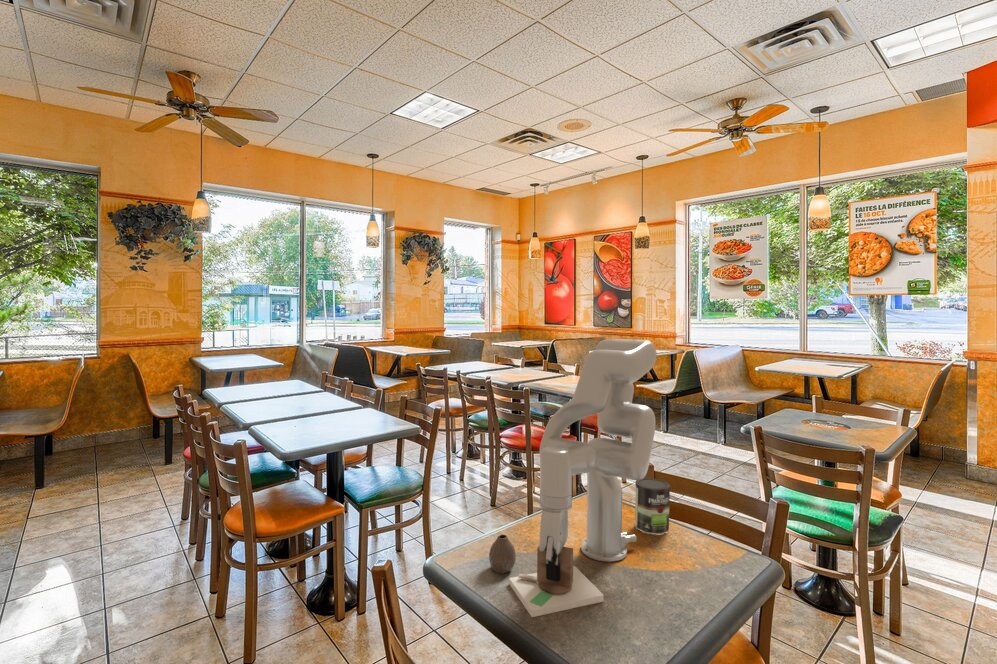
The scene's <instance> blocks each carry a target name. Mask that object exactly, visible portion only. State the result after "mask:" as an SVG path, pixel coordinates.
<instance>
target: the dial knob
mask: <svg viewBox="0 0 997 664" xmlns="http://www.w3.org/2000/svg"><path fill="white" fill-rule="evenodd" d="M536 550H537V554H536V557H537V558H536V559H537V561H536V562H537V563H536V566H537V567H536V568H537V569H536V573H537V577H534V576H529V575H528V574H524V573H519V574H518V575H517V576H518V578H521V579H526V580H530V581H535V582H538V586H539V588H540V589H541V590H543V591H545V592H547V593H550V594H564V593H567V592H568V591H570V590H571V588H572V583H573V566H574V548H572V547H567V546H564V547H563V549H562V551H561V552H560V553H559V564H560V581H559V582H558V581H553V580H548V579H546V553H547V546H546V548H545V550H544V551H542V552H541V551H540V550H539V545H538V546H537V548H536ZM553 550H555V549H553ZM553 556H555V558H556V555H555V554H553Z"/></svg>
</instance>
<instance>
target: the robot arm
mask: <svg viewBox="0 0 997 664" xmlns="http://www.w3.org/2000/svg"><path fill="white" fill-rule="evenodd" d="M657 354H658V353H657V349H656V346H655V344H653V342H652V341H649V340H644V339H628V338H627V339H626V338H625V339H624V338H608V339H603V340H601V341H599V342H598V343H597V344H596V347H595V350H592V351H591V352H589V353H588V354H587V356H586V357H585V359H584V362H583V365H582V369H581V372H580V375H579V379H578V381H577V385H576V387H575V390H574V393H573V397H572V398H571V399H570V400H569V401H567V403H565V404H564V405H562V406H561V407H560V408H559V409H558V410H557V411H556V412H555V413H554V414H553V415H552V416H551V417H550V418H549V420H548V422H547V424H546V426H545V429H544V432H543V434H542V438H541V439H540V440H541V441H540V445H539V452H538V453H539V465H540V466H539V506H540V508H541V516H540V527H539V545H538V546H539V550H540V551H541V552H542V551H544V550H545V548H546V546H547V553H546V579H548V580H553V581H558V582H559V581H560V564H559V553H560V552H561V551H562V549H563V547H565V544H566V543H567V541H568V536H569V511H570V510H571V509H572V507H573V506H572V505H573V476H577V475H583V474H586V478H587V479H586V482H587V486H586V487H587V492H586V493H587V498H586V499H587V500H586V504H587V505H586V507H587V508H586V539H584V540H583V541H582V542H581V544H580V549H581V552H582V553H583V554H584V555H585V556H587V557H588V558H590V559H592V560H596V561H600V562H618V561H621V560H623V559H625V558H626V556H627V555H628V547H627V546H626V545H628V543H635V542H637V540H638V539H637V535H636V534H633V533H632V534H629V535H628V533H627V532H626V531H625V532H623V528H622V527H623V524H622V523H623V488H622V485H621V482H620V480H619V478H622V479H626V480H632V481H636V480H641V479H643V478H646V476H647V473H648V470H649V466H650V460H651V456H652V455H651V454H652V449H653V445H654V444H653V443H654V438H655V434H656V433H655V431H656V416H655V412H654V411H653V409H652V408H651V407H649V406H647V405H644V404H639V403H633V398H634V392H635V387H634V384H633V383H636V382H637V381H638V380H641V378H643V377H644V376H645V375H646V374H647V373H648V372H650V371H651V370H652V369H653V367H654V366H655V363H656V361H657ZM594 415H597V420H596V421H597V422H596V423H597V424H596V425H597V428H598V430H599V431H600V432H602V433H604V434H607V435H610V436H616V437H622V438H627V439H631V442H629V441H628V442H627V441H623V440H622V441H621V440H618V439H612V438H608V437H607V438H605V437H595V438H592V439H590V440H589V441H588V442H585V441H580V440H574V439H570V438H564V437H562V436H563V434H564V432H565V430H567V428H569V426H571V425H573V423H576V422H577V421H579V420H583V419H585V418H588V417H589V418H590V417H591V416H594ZM553 549H555V550H553ZM553 554H555V555H556V558H555V556H553Z"/></svg>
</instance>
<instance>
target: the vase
mask: <svg viewBox="0 0 997 664" xmlns="http://www.w3.org/2000/svg"><path fill="white" fill-rule="evenodd" d="M516 554H517V553H516V549H515V546H514V544H513V543H512V542H511V541H510V540H509V538H508V536H507V534H499V535H498V536H497V538H496V540H495V541H494V542H493V543H492V544H491V546H490V549H489V554H488V556H489V557H488V561H489V564H490V567H491V569H493V570H494V571H495V572H496V573H498V574H508V573H509V572H510V571H512V570H513V568H514V567H515V564H516V558H517V555H516Z"/></svg>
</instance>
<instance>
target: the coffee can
mask: <svg viewBox="0 0 997 664" xmlns="http://www.w3.org/2000/svg"><path fill="white" fill-rule="evenodd" d="M670 492H671V485H670V483H668V482H667V481H665V480H662V479H659V478H653V477H652V478H651V477H650V478H649V477H648V478H647V477H644V478H643V479H641V480H635V508H634V510H635V511H634V512H635V516H634V517H635V518H634V528H635V527H636V528H635V530H637V529H638V530H640V531H642V532H644V533H643V534H645V533H647V534H646V535H649V534H664V533H666V532H668V531H669V532H670V495H671V493H670ZM638 530H637V531H638ZM640 531H639V532H640ZM642 532H641V533H642ZM669 532H668V533H669Z"/></svg>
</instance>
